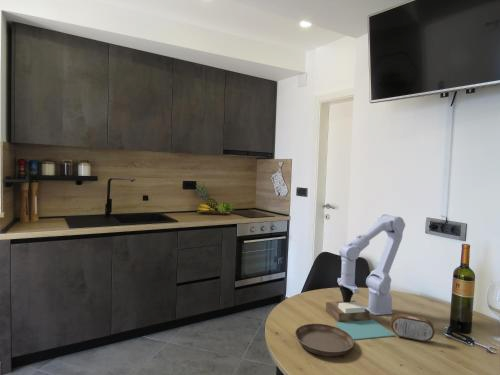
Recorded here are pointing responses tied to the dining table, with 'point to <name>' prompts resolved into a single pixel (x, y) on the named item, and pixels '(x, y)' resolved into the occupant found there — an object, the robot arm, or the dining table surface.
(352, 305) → the tile
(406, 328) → the tin
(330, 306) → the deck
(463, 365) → the dining table surface
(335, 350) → the plant saucer
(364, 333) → the mat
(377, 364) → the dining table surface
